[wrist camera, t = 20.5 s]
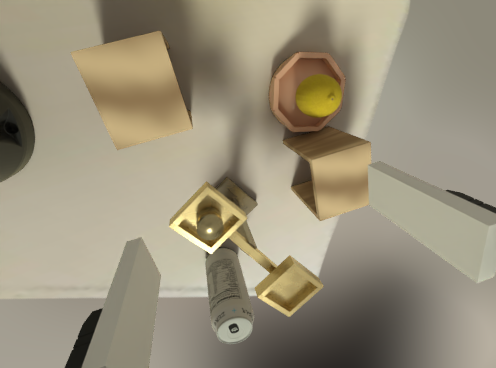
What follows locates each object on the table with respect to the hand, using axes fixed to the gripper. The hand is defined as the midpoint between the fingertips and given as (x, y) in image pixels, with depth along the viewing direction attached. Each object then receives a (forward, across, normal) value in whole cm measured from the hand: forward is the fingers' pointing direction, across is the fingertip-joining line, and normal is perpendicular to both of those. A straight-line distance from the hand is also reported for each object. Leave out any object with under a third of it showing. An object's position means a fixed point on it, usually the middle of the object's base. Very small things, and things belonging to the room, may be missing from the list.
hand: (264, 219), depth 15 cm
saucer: (+27, +14, +2) cm, 30 cm away
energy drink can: (+27, -6, -23) cm, 36 cm away
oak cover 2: (+27, +14, -9) cm, 31 cm away
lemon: (+26, +14, +2) cm, 30 cm away
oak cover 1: (+27, -7, +8) cm, 29 cm away
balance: (+27, -1, -12) cm, 29 cm away
